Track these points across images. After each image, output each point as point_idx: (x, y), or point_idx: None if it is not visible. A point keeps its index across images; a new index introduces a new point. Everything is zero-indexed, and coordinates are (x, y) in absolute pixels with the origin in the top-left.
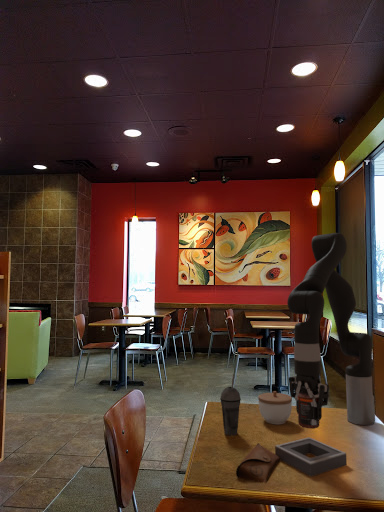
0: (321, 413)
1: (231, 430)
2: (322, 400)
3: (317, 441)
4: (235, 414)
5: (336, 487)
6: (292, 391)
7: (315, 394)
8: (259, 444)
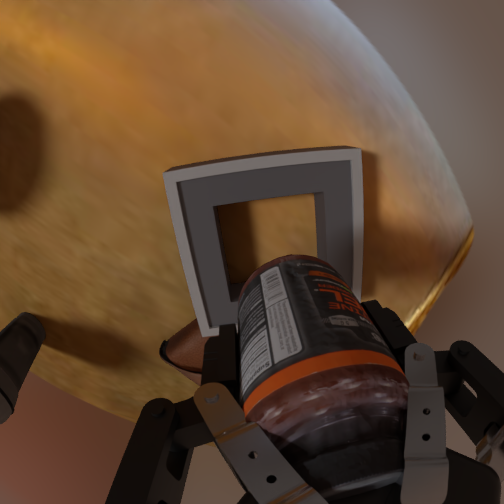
0: (402, 324)
1: (40, 343)
2: (472, 398)
3: (218, 169)
4: (19, 364)
5: (410, 269)
6: (184, 470)
7: (400, 419)
8: (188, 372)
